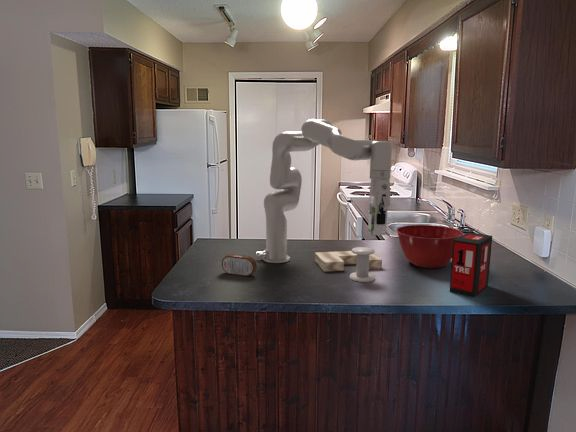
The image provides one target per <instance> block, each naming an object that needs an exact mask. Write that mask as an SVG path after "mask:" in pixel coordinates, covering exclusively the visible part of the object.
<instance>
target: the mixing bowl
mask: <svg viewBox="0 0 576 432" xmlns="http://www.w3.org/2000/svg"><path fill="white" fill-rule="evenodd" d="M396 232H397V236H398V240H399V245H400V247H401V249H402V252H403V254H404V257H405V258H406V259H407V261H409V262H410V263H411V264H412V265H414V266H416V267H420V268H426V269H437V268H442V267H443V266H445V265H447V264H448V263H449V262H450V261H452V253H453V240H455V239H457V238H459V237H460V236H462V235H464V232H463V231H461V230H459V229H457V228H453V227H450V226H449V227H448V226H442V225H433V224H430V225H429V224H412V225H403V226H399V227H398V228H397V229H396Z"/></svg>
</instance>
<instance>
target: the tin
mask: <svg viewBox="0 0 576 432" xmlns="http://www.w3.org/2000/svg"><path fill="white" fill-rule="evenodd" d="M221 260H222V261H221V267H222V270H223V271H224V273H226V274H229V275H231V276H233V275H234V276H240V277H241V276H242V277H250V276H252V275H253V274H255V272H256V271H257V267H258V266H257V262H256V260H255V258H253V257H252V256H250V255H245V254H244V255H243V254H236V253H229V254H228V253H227V255H225V256H224V257H223V258H222V259H221Z"/></svg>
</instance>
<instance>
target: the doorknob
mask: <svg viewBox="0 0 576 432" xmlns="http://www.w3.org/2000/svg"><path fill="white" fill-rule="evenodd" d="M351 251H352V252H353V253H355V254H357V261H356V264H355V265H356V269H355V272H351V273H350V274H349V279H350V280H351V281H354V282H357V281H358V283H370V282H373V281H375V278H376V277H375V275H374V274H373V273H370V272H369V270H370V269H369V255H371V254H375V252H376V251H375V249H374V248H372V247H371V248H370V247H365V246H364V247H363V246H356V247H353V248H351Z"/></svg>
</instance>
